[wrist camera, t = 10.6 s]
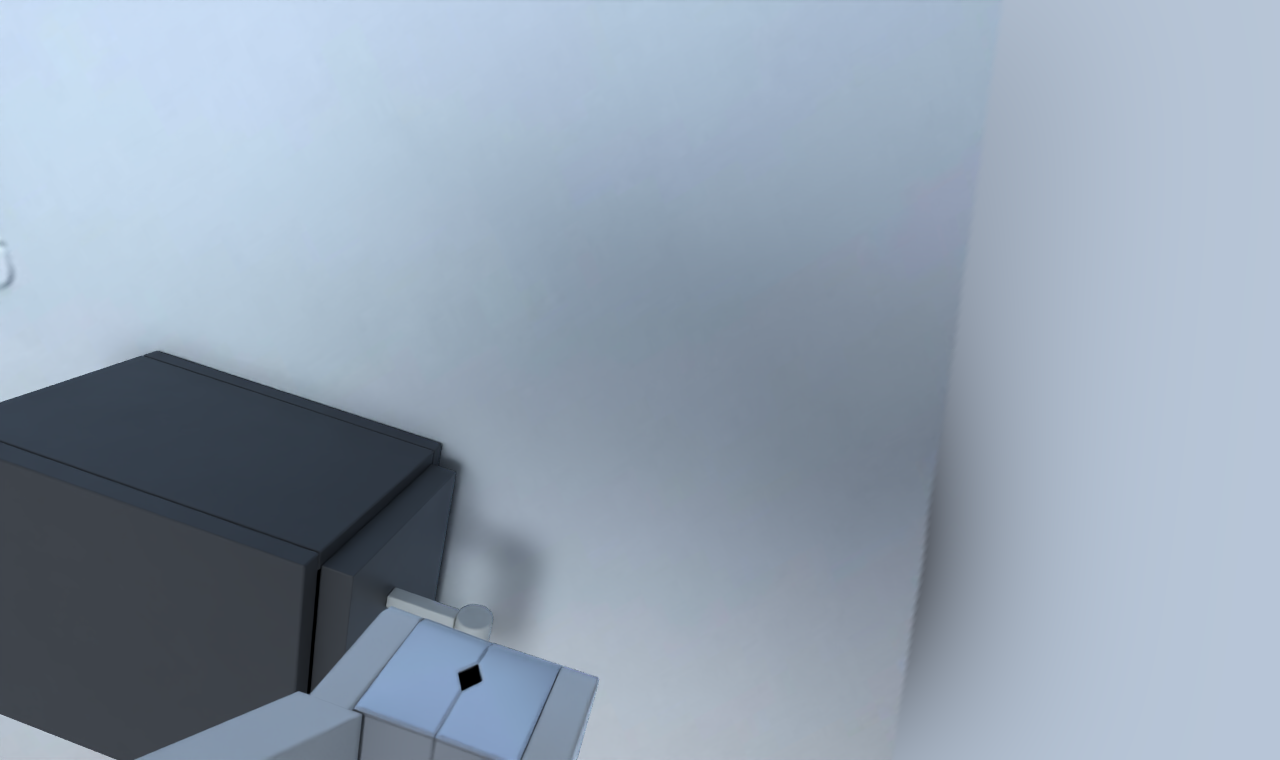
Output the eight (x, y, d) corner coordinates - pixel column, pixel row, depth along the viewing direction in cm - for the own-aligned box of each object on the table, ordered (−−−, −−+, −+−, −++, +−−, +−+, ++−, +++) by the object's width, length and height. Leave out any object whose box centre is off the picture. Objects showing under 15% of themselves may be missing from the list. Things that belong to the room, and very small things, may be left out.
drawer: (546, 501, 29) (470, 617, 22) (502, 692, 33) (426, 843, 26) (184, 381, 31) (3, 454, 24) (185, 578, 35) (31, 691, 28)
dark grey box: (442, 443, 30) (304, 566, 21) (410, 653, 35) (284, 826, 26) (156, 349, 32) (-86, 429, 23) (161, 563, 36) (-39, 699, 27)
